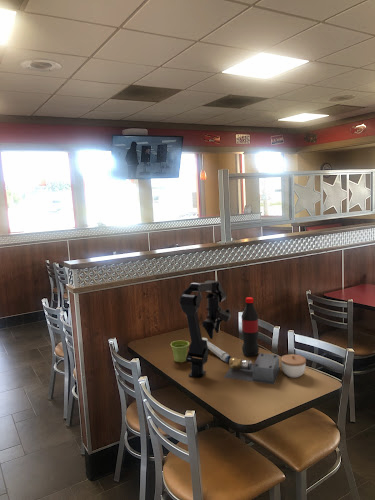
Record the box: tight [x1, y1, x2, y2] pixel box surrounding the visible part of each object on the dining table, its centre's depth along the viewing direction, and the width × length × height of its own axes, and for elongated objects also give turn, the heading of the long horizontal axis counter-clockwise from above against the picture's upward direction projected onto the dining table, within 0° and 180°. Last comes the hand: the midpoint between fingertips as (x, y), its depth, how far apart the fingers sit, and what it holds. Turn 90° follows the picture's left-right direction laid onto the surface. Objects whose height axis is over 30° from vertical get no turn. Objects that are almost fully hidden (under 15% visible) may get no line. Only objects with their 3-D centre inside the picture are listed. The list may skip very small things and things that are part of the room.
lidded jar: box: [280, 353, 307, 379], centre depth 175 cm, size 11×11×9 cm
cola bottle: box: [241, 296, 260, 358], centre depth 199 cm, size 8×8×30 cm
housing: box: [252, 352, 280, 383], centre depth 177 cm, size 16×9×7 cm, turn 158°
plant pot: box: [170, 340, 190, 363], centre depth 197 cm, size 9×9×9 cm
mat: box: [223, 363, 282, 385], centre depth 180 cm, size 18×22×1 cm
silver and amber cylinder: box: [228, 357, 253, 370], centre depth 181 cm, size 5×10×5 cm, turn 68°
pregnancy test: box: [202, 337, 233, 363], centre depth 203 cm, size 5×7×25 cm
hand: (214, 335), depth 196 cm, fingers open, 9 cm apart
